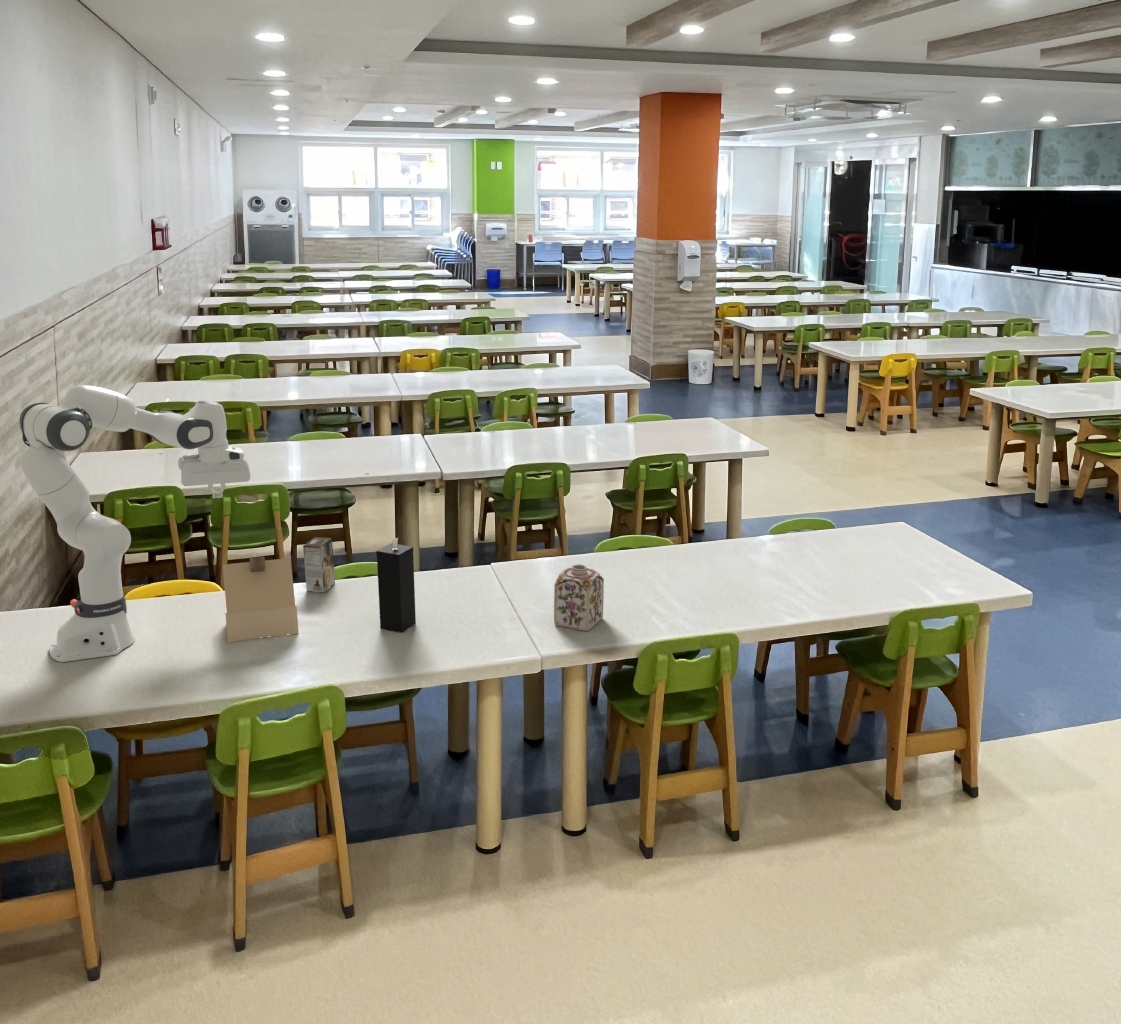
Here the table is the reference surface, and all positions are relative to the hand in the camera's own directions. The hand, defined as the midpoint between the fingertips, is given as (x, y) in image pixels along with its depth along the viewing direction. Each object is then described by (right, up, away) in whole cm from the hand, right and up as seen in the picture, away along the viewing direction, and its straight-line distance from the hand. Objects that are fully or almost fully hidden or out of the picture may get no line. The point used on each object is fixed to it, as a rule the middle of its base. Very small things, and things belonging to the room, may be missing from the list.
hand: (217, 497), depth 330 cm
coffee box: (+26, -30, +24) cm, 46 cm away
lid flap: (+17, -26, -16) cm, 35 cm away
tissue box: (+56, -39, -6) cm, 69 cm away
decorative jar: (+111, -38, -2) cm, 117 cm away
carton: (+16, -39, -8) cm, 43 cm away
